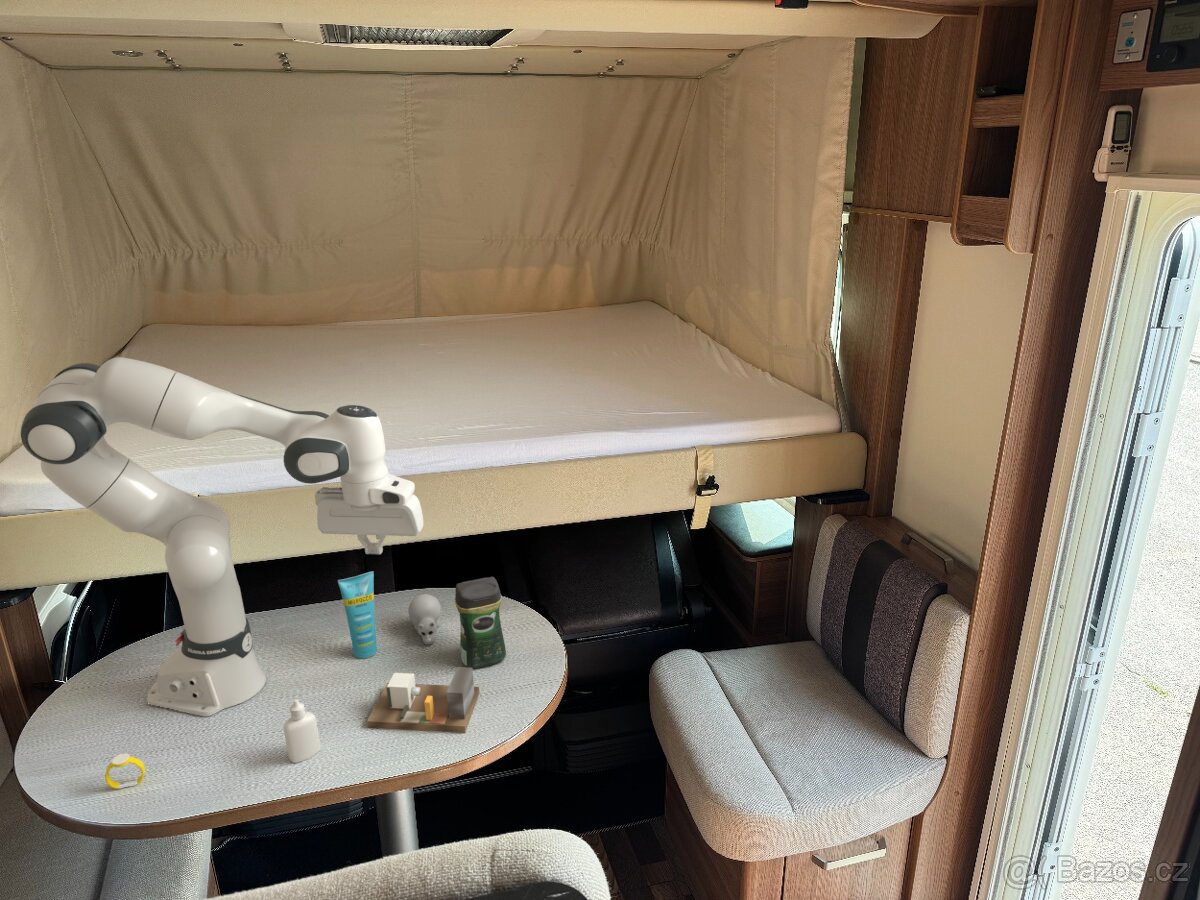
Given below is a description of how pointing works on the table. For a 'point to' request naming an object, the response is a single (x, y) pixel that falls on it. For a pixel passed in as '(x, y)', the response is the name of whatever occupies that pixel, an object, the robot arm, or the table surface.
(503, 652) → the coffee jar
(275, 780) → the table surface
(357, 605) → the tube
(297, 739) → the eye dropper bottle
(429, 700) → the block
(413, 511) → the robot arm
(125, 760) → the watch
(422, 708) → the bench
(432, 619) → the round bodied animal figurine
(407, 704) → the cream block with knob
